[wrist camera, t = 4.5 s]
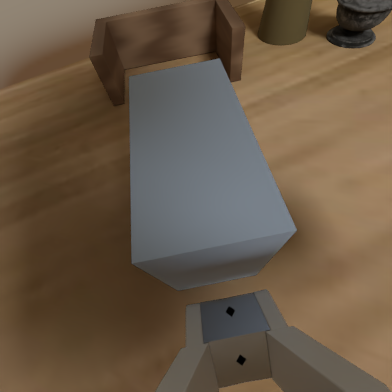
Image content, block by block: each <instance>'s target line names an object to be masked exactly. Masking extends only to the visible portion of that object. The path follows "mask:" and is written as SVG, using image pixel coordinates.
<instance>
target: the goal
mask: <svg viewBox="0 0 392 392" xmlns="http://www.w3.org/2000/svg"><path fill="white" fill-rule="evenodd" d="M244 36H245V25H244V23H243V22H242V20H241V19H240V17H239V16H238V14H237V13H236V11H235V10H234V8H233V7H232V5H231V4H230V2H229V1H228V0H191V1H186V2H181V3H176V4H171V5H166V6H161V7H156V8H151V9H147V10H141V11H136V12H131V13H126V14H121V15H116V16H112V17H106V18H101V19H96V22H95V28H94V34H93V39H92V45H91V51H90V56H89V58H90V60H91V62H92V64H93V66H94V68H95V70H96V71H97V73H98V75H99V77H100V79H101V81H102V83H103V85H104V87H105V89H106V91H107V93H108V95H109V97H110V99H111V101H112V103H113V105H118V104H123V103H124V70H125V69H130V68H135V67H140V66H145V65H150V64H155V63H160V62H165V61H170V60H175V59H180V58H185V57H190V56H195V55H199V54H204V53H209V52H214V51H216V52H217V54H218V56H219V58H220V60H221V62H222V64H223V67H224V69H225V71H226V73H227V76H228V78H229V80H230V82H233V81H238V80H241V70H242V59H243V47H244Z"/></svg>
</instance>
